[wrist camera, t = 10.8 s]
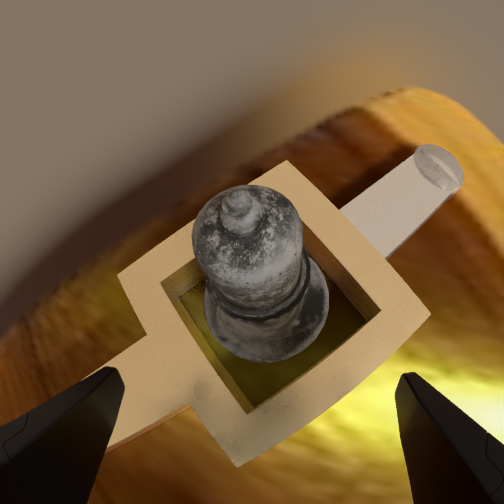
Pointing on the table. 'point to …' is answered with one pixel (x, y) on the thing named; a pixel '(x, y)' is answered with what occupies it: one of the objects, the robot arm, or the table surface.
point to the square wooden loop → (206, 369)
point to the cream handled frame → (375, 222)
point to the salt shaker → (258, 275)
